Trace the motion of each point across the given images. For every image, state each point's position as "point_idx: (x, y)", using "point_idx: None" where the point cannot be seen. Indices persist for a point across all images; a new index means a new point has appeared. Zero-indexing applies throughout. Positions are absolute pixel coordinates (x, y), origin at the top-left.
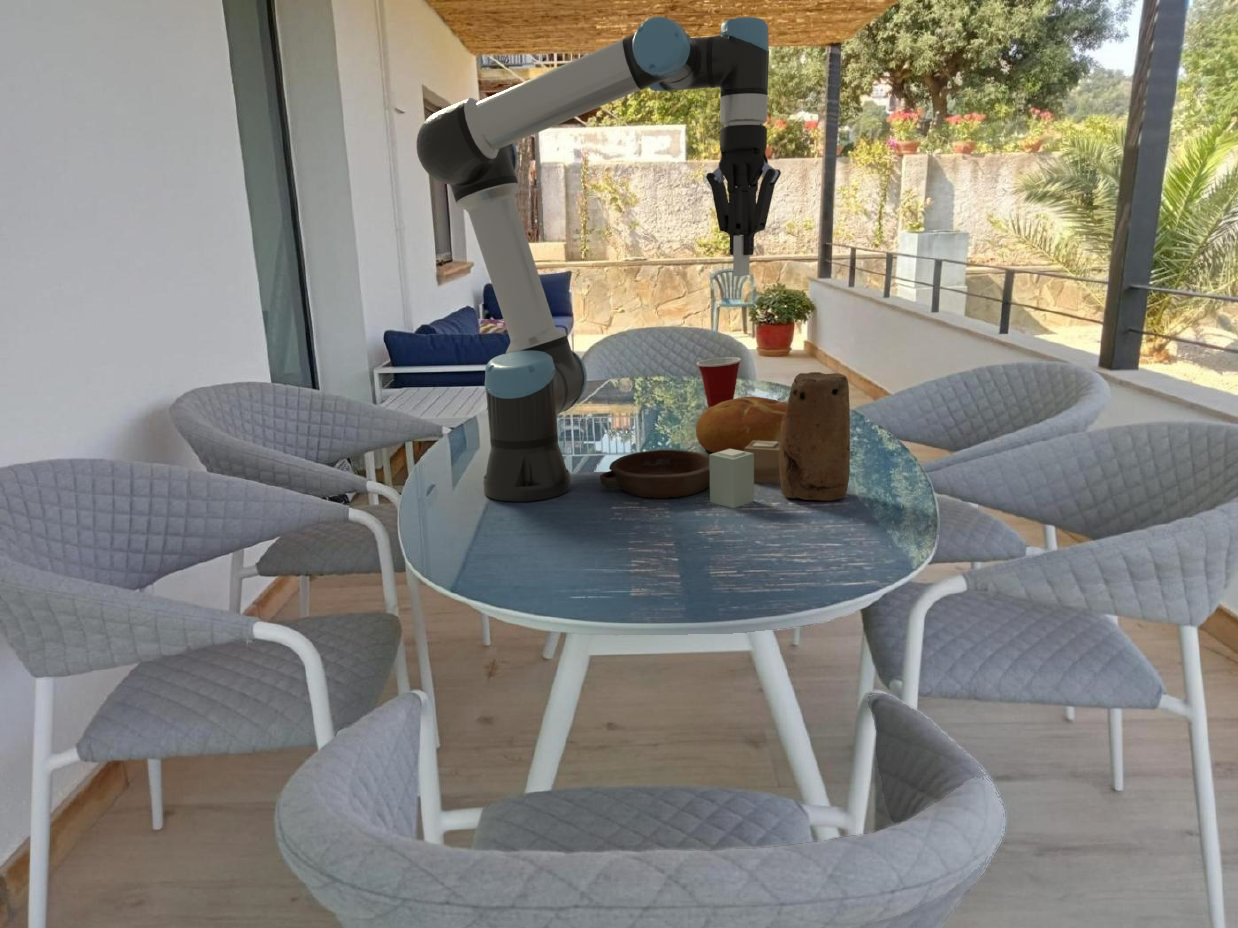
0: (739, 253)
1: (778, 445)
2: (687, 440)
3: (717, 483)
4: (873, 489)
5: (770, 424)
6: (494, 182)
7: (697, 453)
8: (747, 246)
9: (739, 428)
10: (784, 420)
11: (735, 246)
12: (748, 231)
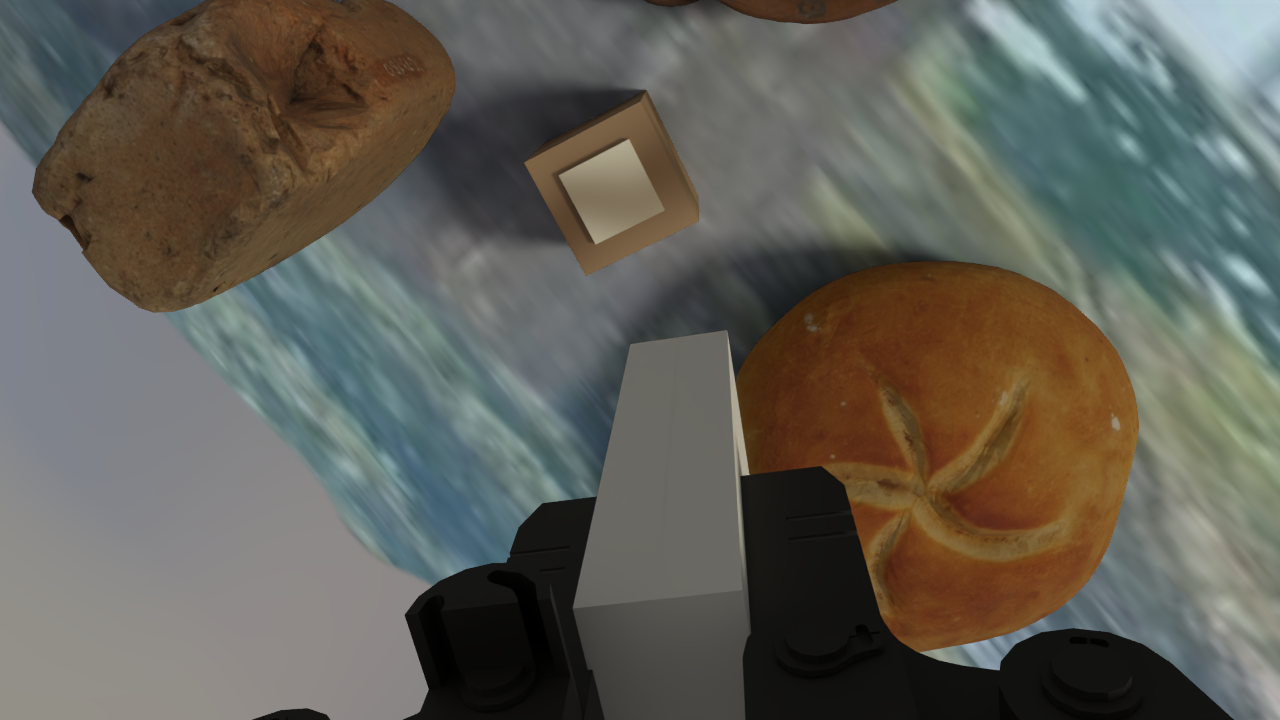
0: (633, 454)
1: (572, 218)
2: (1175, 374)
3: None
4: (302, 283)
5: (764, 405)
6: None
7: (809, 3)
8: (535, 567)
9: (843, 311)
10: (337, 44)
11: (701, 496)
12: (435, 704)
